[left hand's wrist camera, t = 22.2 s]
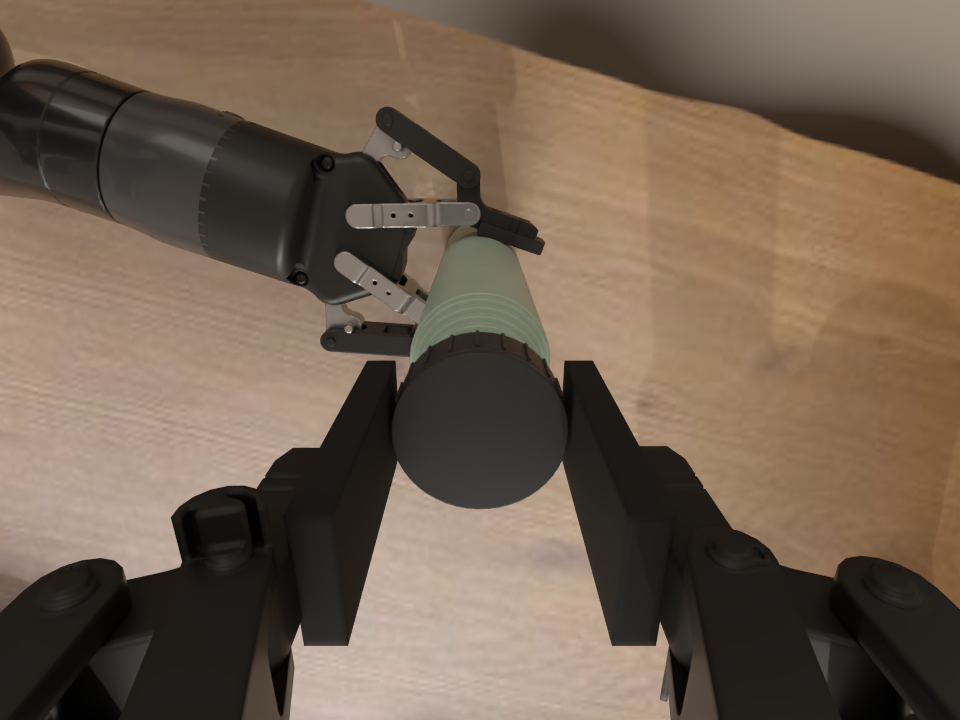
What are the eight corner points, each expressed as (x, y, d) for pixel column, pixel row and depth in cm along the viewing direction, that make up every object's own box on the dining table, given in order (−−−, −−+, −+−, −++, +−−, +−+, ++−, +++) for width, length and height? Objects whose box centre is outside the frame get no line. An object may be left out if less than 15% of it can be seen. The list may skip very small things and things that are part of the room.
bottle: (436, 274, 37) (366, 467, 14) (459, 209, 35) (423, 309, 13) (498, 298, 37) (527, 519, 15) (524, 235, 36) (601, 375, 13)
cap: (364, 390, 14) (350, 417, 13) (499, 295, 13) (502, 313, 12) (463, 502, 16) (461, 538, 14) (592, 422, 15) (605, 453, 13)
